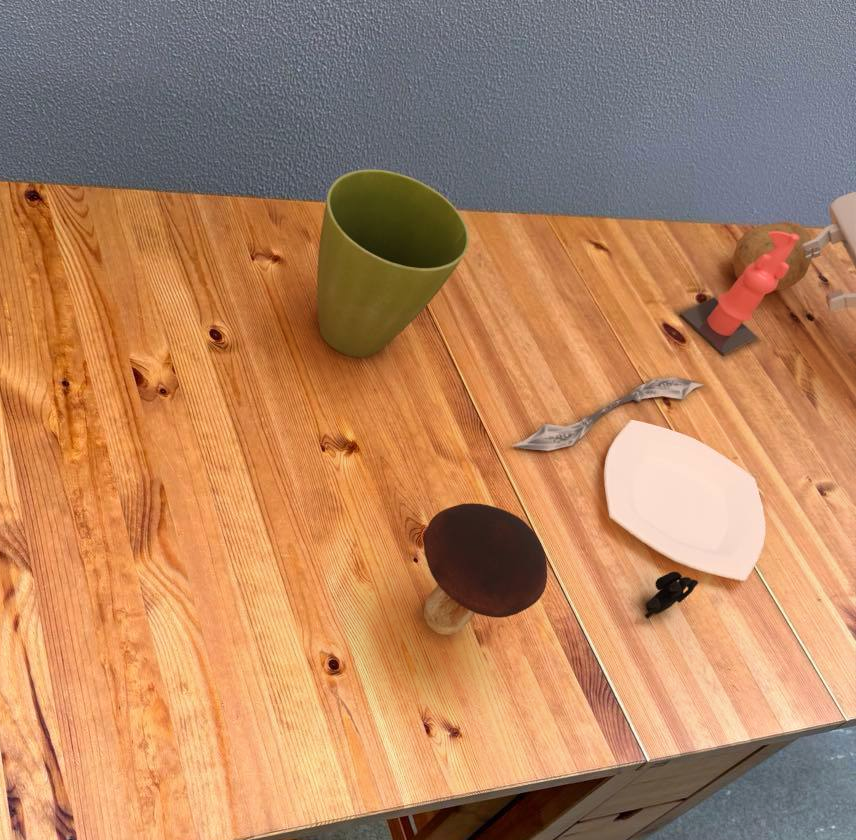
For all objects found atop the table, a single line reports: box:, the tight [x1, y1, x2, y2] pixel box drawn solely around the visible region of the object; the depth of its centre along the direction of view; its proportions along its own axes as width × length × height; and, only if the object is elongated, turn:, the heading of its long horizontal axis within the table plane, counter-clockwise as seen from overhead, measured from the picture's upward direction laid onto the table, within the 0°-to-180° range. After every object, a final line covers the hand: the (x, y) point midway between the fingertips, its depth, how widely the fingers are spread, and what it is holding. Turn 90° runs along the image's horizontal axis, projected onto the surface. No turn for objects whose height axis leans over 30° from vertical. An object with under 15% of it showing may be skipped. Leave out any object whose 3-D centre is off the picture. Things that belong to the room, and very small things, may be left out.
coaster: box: [679, 297, 758, 357], centre depth 129 cm, size 8×8×1 cm
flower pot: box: [316, 168, 470, 359], centre depth 103 cm, size 15×15×16 cm
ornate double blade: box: [511, 376, 704, 451], centre depth 113 cm, size 32×1×5 cm
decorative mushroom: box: [423, 502, 548, 636], centre depth 84 cm, size 11×11×15 cm
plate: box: [603, 419, 766, 582], centre depth 107 cm, size 19×19×2 cm
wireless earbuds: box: [644, 571, 699, 619], centre depth 96 cm, size 7×2×5 cm, turn 121°
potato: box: [733, 221, 812, 292], centre depth 135 cm, size 10×14×8 cm
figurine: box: [707, 231, 799, 336], centre depth 123 cm, size 5×5×15 cm
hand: (815, 277), depth 123 cm, fingers open, 8 cm apart
